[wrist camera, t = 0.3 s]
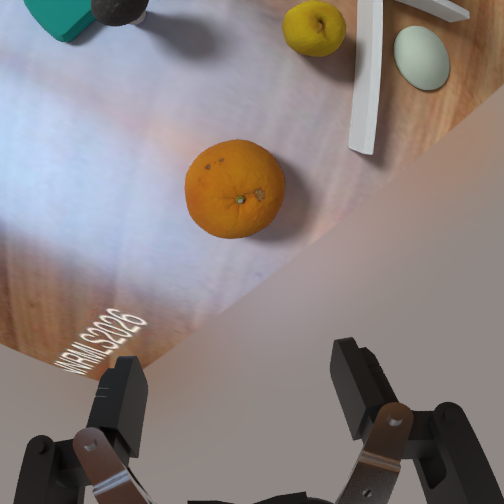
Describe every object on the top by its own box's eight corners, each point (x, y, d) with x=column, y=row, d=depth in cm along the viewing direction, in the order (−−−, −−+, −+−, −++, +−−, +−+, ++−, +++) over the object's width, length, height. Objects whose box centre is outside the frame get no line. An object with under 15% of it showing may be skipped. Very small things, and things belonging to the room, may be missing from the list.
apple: (285, 66, 31) (303, 56, 24) (269, 17, 28) (281, -4, 21) (337, 56, 31) (365, 46, 24) (321, 9, 28) (345, -11, 21)
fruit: (282, 216, 39) (296, 243, 32) (196, 228, 39) (191, 258, 32) (273, 131, 35) (287, 138, 27) (181, 144, 34) (171, 155, 27)
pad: (393, 18, 29) (396, 17, 28) (447, 38, 29) (450, 38, 29) (391, 80, 32) (393, 80, 32) (445, 97, 33) (447, 97, 33)
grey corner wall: (357, -19, 26) (372, -30, 22) (449, 15, 28) (469, 11, 24) (347, 147, 36) (362, 153, 32) (439, 162, 38) (459, 170, 34)
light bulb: (169, 22, 28) (152, -6, 19) (126, 47, 28) (95, 30, 19) (149, -11, 25) (127, -44, 16) (107, 14, 26) (73, -10, 17)
